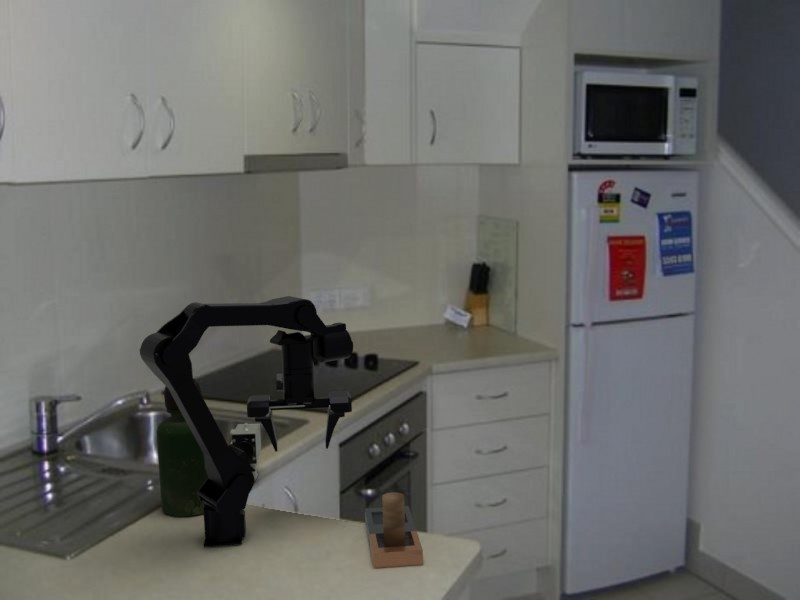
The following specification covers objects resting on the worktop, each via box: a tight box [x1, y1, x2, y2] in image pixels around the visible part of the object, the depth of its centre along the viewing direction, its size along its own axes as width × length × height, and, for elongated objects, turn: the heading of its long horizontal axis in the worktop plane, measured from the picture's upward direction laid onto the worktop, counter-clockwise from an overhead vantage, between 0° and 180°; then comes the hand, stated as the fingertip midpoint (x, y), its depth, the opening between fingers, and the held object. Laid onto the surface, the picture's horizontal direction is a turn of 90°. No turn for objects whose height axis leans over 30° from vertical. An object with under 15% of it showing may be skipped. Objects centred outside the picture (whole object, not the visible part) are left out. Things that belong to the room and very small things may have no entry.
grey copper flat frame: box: [364, 505, 424, 569], centre depth 157 cm, size 8×20×2 cm, turn 6°
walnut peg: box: [381, 491, 406, 548], centre depth 151 cm, size 4×4×10 cm
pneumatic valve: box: [229, 422, 262, 482], centre depth 191 cm, size 6×12×12 cm, turn 2°
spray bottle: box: [156, 377, 208, 517], centre depth 174 cm, size 10×10×25 cm
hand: (301, 449), depth 168 cm, fingers open, 9 cm apart
